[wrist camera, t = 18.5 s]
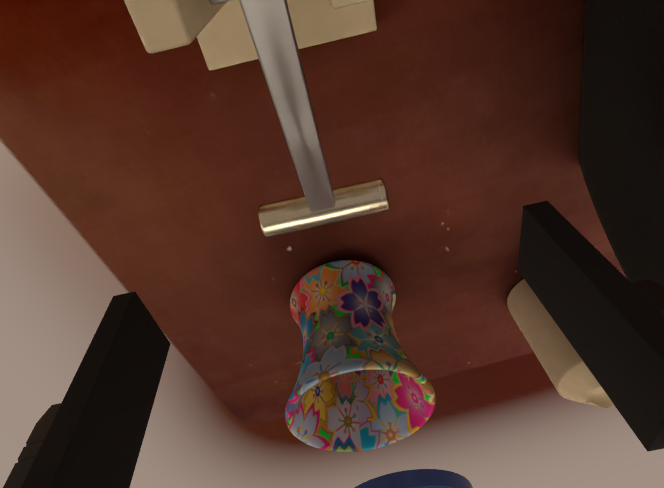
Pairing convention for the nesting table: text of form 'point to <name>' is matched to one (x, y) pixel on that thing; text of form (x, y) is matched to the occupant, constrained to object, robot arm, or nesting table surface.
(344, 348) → the mug
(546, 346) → the candle
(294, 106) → the lever
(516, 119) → the nesting table surface
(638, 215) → the flower pot
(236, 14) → the bracket
